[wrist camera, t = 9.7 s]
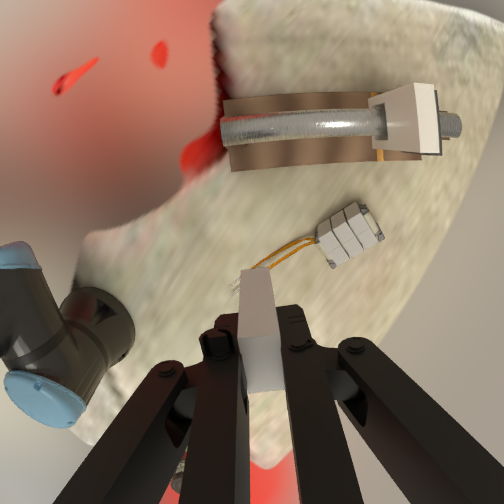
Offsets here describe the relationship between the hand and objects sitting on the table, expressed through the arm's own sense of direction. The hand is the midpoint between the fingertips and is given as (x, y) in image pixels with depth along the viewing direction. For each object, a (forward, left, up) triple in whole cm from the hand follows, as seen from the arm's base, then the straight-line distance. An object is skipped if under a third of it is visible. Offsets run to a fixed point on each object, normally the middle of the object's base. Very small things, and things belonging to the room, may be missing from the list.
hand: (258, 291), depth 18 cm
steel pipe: (+11, +10, -19) cm, 24 cm away
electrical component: (+6, -9, -30) cm, 32 cm away
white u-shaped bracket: (+16, +10, -21) cm, 28 cm away
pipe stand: (+11, +10, -30) cm, 33 cm away
